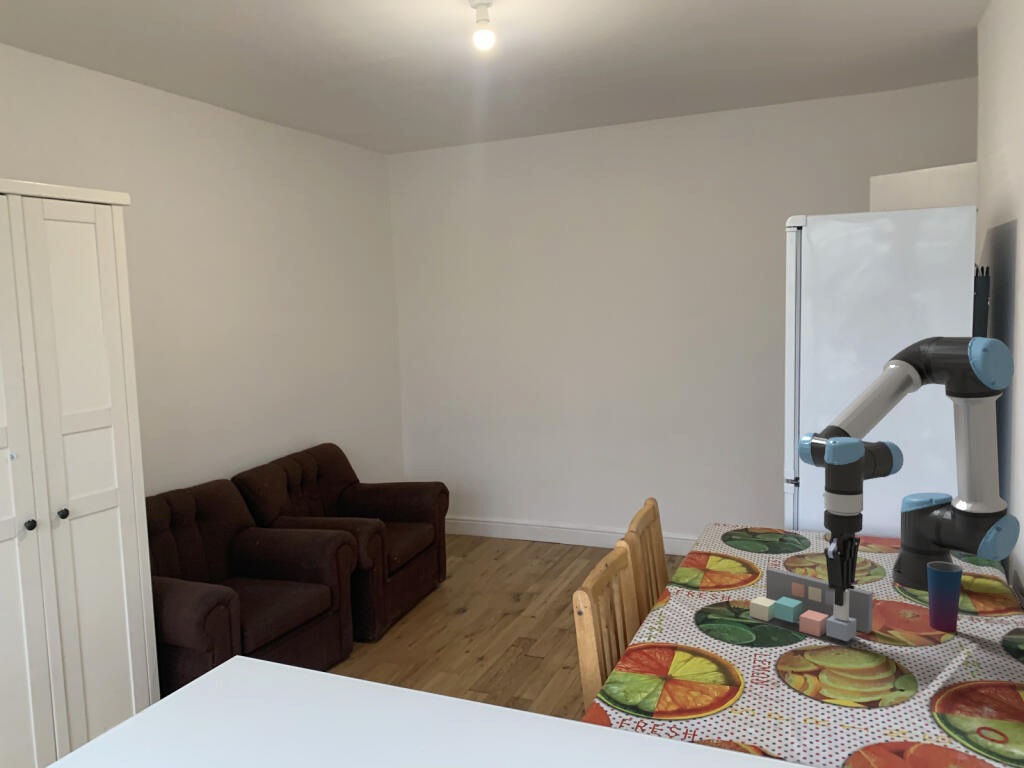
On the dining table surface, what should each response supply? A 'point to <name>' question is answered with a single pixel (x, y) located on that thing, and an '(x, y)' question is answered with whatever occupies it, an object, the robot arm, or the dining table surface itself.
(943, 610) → the cup
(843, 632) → the slate key
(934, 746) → the dining table surface
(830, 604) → the keypad
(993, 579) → the dining table surface
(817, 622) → the coral key
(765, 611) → the sand key
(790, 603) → the teal key
